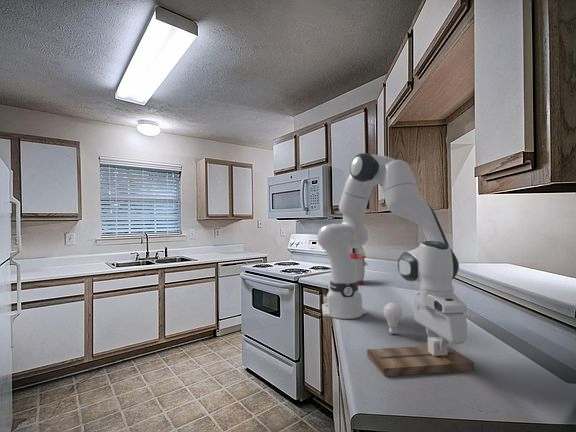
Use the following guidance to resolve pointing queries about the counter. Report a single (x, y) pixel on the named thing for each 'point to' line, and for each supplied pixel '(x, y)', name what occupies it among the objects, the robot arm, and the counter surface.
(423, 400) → the counter surface
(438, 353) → the fader tab
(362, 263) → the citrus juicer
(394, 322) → the lightbulb
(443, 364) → the fader board
